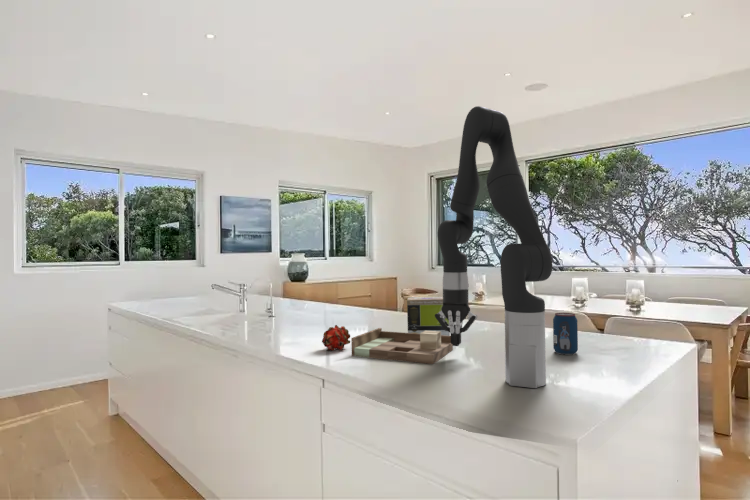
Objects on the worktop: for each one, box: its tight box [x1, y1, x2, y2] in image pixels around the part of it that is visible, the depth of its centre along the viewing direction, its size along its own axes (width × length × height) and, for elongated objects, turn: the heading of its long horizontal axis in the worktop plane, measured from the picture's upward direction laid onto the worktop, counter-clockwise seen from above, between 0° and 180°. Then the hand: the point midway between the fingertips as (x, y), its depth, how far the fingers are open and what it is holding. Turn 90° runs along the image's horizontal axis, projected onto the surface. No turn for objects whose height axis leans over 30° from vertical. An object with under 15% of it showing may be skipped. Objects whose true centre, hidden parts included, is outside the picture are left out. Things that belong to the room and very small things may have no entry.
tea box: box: [406, 296, 451, 336], centre depth 169 cm, size 15×10×15 cm, turn 84°
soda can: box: [552, 312, 579, 356], centre depth 142 cm, size 7×7×12 cm
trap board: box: [350, 327, 454, 365], centre depth 145 cm, size 20×26×6 cm
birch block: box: [420, 331, 441, 349], centre depth 141 cm, size 5×5×4 cm
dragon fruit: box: [321, 324, 351, 352], centre depth 151 cm, size 8×8×12 cm
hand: (456, 345), depth 137 cm, fingers closed
